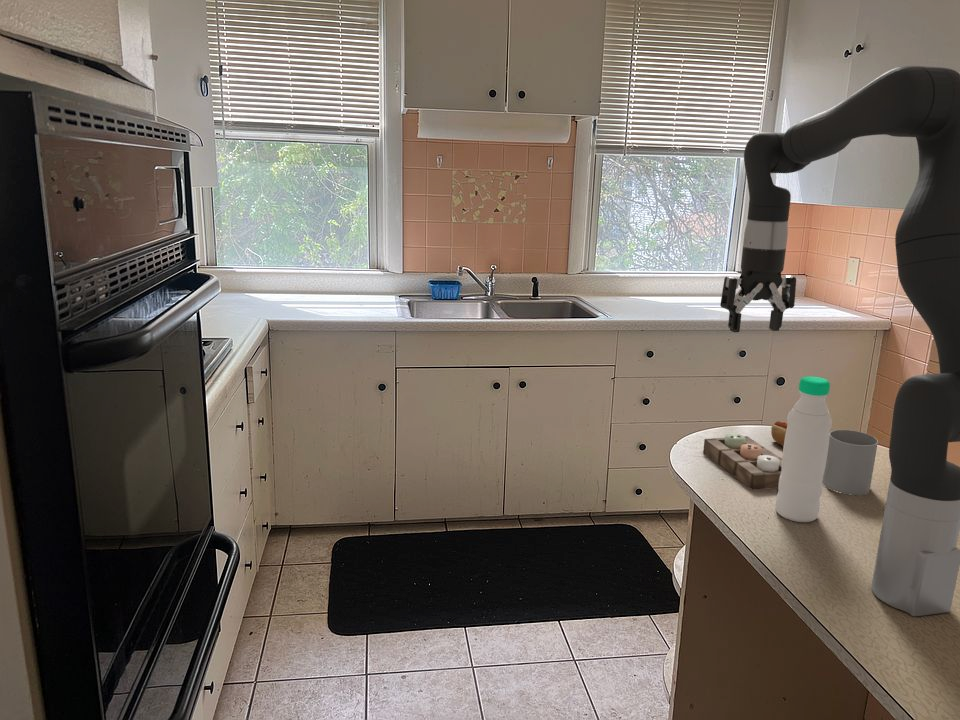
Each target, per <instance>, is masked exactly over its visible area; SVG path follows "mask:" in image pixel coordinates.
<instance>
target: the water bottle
mask: <svg viewBox="0 0 960 720" xmlns="http://www.w3.org/2000/svg"><path fill="white" fill-rule="evenodd" d="M798 383H799V384H798V393H799V394H800V397H799V399H798V400H797V401H796V402H795V403H794V406H793V407H792V408H791V410H789V412H788V414H787V419H786V423H788V426H787V430H786V435H785V440H784V446H782V447H783V449H782V457H781V459H782V469H781V475H780V478H779V488H778V492H777V495H776V499H775V506H774V507H775V511H776V513H778V515H779V516H781V517H783V518H784V519H786V520H788V519H789V521H793V522H797V523H810V522H814V521H815V520H816V519H817V518H818V517H819V514H820V502H821V501H820V499H821V496H822V492H823V487H824V485H823V483H822V480H823V475H824V471H825V466H826V460H827V454H828V446H829V434H830V432H831V431H830V430H831V429H832V425H833V420H832V417H831V412H829V406H828V405H827V402H826V398H827V397H828V396H829V393H830V389H831V384H830V381H829V380H828V379H826V378H823V377H818V376H810V375H809V376H803V377H801V378H800V380H799V382H798Z"/></svg>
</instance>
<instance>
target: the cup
mask: <svg viewBox="0 0 960 720" xmlns="http://www.w3.org/2000/svg"><path fill="white" fill-rule="evenodd" d="M878 443H879V439H877V438H876V437H875V436H873V435H871V434H868V433H865V432H861V431H858V430H852V429H834V430H832V431H829V446H828V454H827V460H826V466H825V471H824V475H823V479H822V483H823V484H824V485H825V486H826V487H828V488H830V489H832V490H835V491H838V492H841V493H840V494H842V493H845V494H844V495H846V494H851V495H850V496H854V495H857V496H865V495H867V493H868V494H870V491H871V484H872V479H873V472H874V467H875V461H876V457H877V449H878ZM824 485H823V486H824ZM825 486H824V487H825ZM826 487H825V488H826ZM828 488H827V489H828ZM830 489H829V490H830ZM832 490H831V491H832ZM835 491H834V492H835ZM838 492H837V493H838Z"/></svg>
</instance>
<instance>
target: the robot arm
mask: <svg viewBox="0 0 960 720" xmlns="http://www.w3.org/2000/svg"><path fill="white" fill-rule="evenodd" d="M879 135H880V136H881V135H883V136H884V135H885V136H890V137H896V138H897V137H898V138H903V137H904V138H915V139H916V143H917V148H918V149H917V151H918V178H917V181H916V183H915V184H916V185H915V187H914V190H913V191H912V194H911V196H910V197H909V200H908V202H907V203H906V206H905V207H904V210H903V212H902V213H901V215H900V218H899V221H898V224H897V226H896V229H895V234H894V236H895V237H894V238H895V239H894V244H895V256H896V266H897V273H898V279H899V283H900V285H901V288H902V290H903V291H904V293H905V295H906V297H907V299H908V300H909V301H910V303H911V305H912V306H913V307H914V308H915V310H916V311H917V312H918V314H919V316H920V317H921V318H922V320H923V321H924V323H925V324H926V326H927V327H928V329H929V331H930V332H931V334H932V336H933V337H932V338H933V339H934V340H933V341H934V342H935V346H936V351H937V357H938V365H939V373H927V374H925V373H924V374H918V375H914V376H911V377H909V378H908V379H905V381H904V382H903V383H902V384H901V386H900V388H899V389H898V391H897V394H896V397H895V400H894V405H893V410H892V411H893V412H892V418H891V419H892V421H891V430H890V437H889V439H890V440H889V449H888V457H889V463H890V467H891V468H890V469H891V472H890V478H889V483H888V490H887V496H886V501H885V507H884V512H883V518H882V524H881V528H880V535H879V540H878V546H877V551H876V557H875V564H874V570H873V574H872V581H871V586H870V587H871V588H870V589H871V591H872V593H873V594H874V596H875V597H877V598H878V599H879V600H881V602H883V603H885V604H886V605H888V606H891V607H892V608H895V609H897V610H900V611H902V612H906V613H907V614H909V615H910V616H912V617H920V616H929V615H935V614H943V613H950V612H951V608H952V604H953V599H954V594H955V589H956V586H957V580H958V575H959V570H960V548H958V547H957V546H958V541H959V536H960V466H958V465H956V464H955V463H953V462H950V461H947V460H948V459H947V458H948V451H949V450H948V449H949V443H955V442H956V443H958V442H960V73H959V72H958V71H956V70H954V69H952V68H947V67H938V66H923V65H903V66H898V67H894V68H893V69H890V70H887V71H886V72H884V73H882V74H881V75H880V76H878V77H877V78H875V79H873V80H872V81H869V83H868V84H866V85H865V86H863V87H862V88H860V89H859V90H858V91H856V92H854V93H853V94H851V95H849V96H848V97H847V98H845V99H844V100H842V101H841V102H839V103H838V104H836V105H835V106H833V107H831V108H828V109H826V110H825V111H822V112H819V113H816V114H814V115H812V116H810V117H807V118H805V119H803V120H800V121H798V122H796V123H795V124H794V123H793V125H791V126H789V128H788V129H786V131H785V132H776V131H775V132H772V131H771V132H770V131H769V132H768V131H767V132H766V131H761V132H757V133H755V134H754V135H752V136H751V137H750V138H749V140H748V141H747V143H746V145H745V147H744V153H743V164H744V169H745V173H746V174H745V175H746V182H747V188H748V195H749V201H748V210H747V218H746V219H747V220H746V224H745V228H744V233H743V234H744V235H743V242H742V243H743V244H742V252H741V261H740V270H741V271H740V272H741V273H740V276H739V277H731V276H729V275H727V276H724V279H723V280H724V281H723V286H722V291H721V298H720V307H721V308H722V309H725V310H728V312H729V313H728V324H727V325H728V329H729V331H730V332H732V333H740V331H741V322H742V311H743V310H744V309H745V307H746V306H747V305H749V304H751V302H752V301H760V300H763V301H768V302H769V305H770V306H771V308H772V309H771V310H770V315H769V316H770V318H769V324H768V327H769V330H771V331H773V332H778V331H779V332H780V328H781V327H782V325H783V318H784V312H785V311H786V310H787V309H793V308H794V307H795V302H796V292H797V291H796V287H797V277H796V276H792V275H787V274H784V275H783V276H782V272H783V271H784V267H785V259H786V253H787V252H786V251H787V245H788V244H787V243H788V236H789V234H788V233H789V228H788V227H789V226H788V225H789V224H788V223H789V222H788V221H789V216H790V210H791V209H790V208H791V199H792V196H791V195H792V194H791V192H790V190H789V189H787V188H785V187H781V186H778V185H775V184H774V181H773V178H772V175H771V174H790V173H796V172H799V171H801V170H803V169H805V167H807V166H808V165H810V164H811V163H813V162H815V161H819V160H822V159H825V158H828V157H831V156H833V155H835V154H838V153H840V152H841V151H842V150H844V149H845V148H846V147H847V146H848V145H849V144H850V143H851V141H852V140H855V139H857V138H861V137H869V136H879ZM739 287H740V289H739ZM780 287H781V293H780V292H779V290H778V289H779V288H780ZM737 289H739V290H738V291H737ZM736 292H737V293H736Z"/></svg>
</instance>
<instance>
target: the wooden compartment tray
mask: <svg viewBox="0 0 960 720" xmlns="http://www.w3.org/2000/svg"><path fill="white" fill-rule="evenodd" d="M743 436H744V435H743ZM744 437H745V438H746V439H745V444H754V445H757V446H760V447H761V448H762V453H761V455H770V456H774V457H776V458H778V459H779V460H780V462H779V470H778V471H774V472H762V471H761V470H760V469H758V468H757V459H754V460H745V459H744V458H743V457H741V456H740V450H741V448H735V449H730V448H728V447H727V446H726V445H724V444H725V437H717V438H715V437H714V438H704V441H703V442H704V443H703V453H704V454H705V455H706V456H707V457H709V458H710V459H712V460H713V461H714V462H715V463H717V464H718V465H719V466H721V467H722V468H723V469H724V470H726V471H727V472H729V473H730V475H732V476H734V477H735V478H736V479H738V480H739V481H740V482H742V483H743V484H744V485H745V486H747V487H748V488H750V489H751V490H752V491H757V490H768V489H779V478H780V475H781V469H782V457H780V456H778V455H777V454H775V453H774V452H772V451H771V450H769V449H768V448H766V447H764V446H763V445H762V444H760V443H758V442H757V441H756V440H754V439H752V438H751V437H749V436H747V435H746V436H744Z"/></svg>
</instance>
